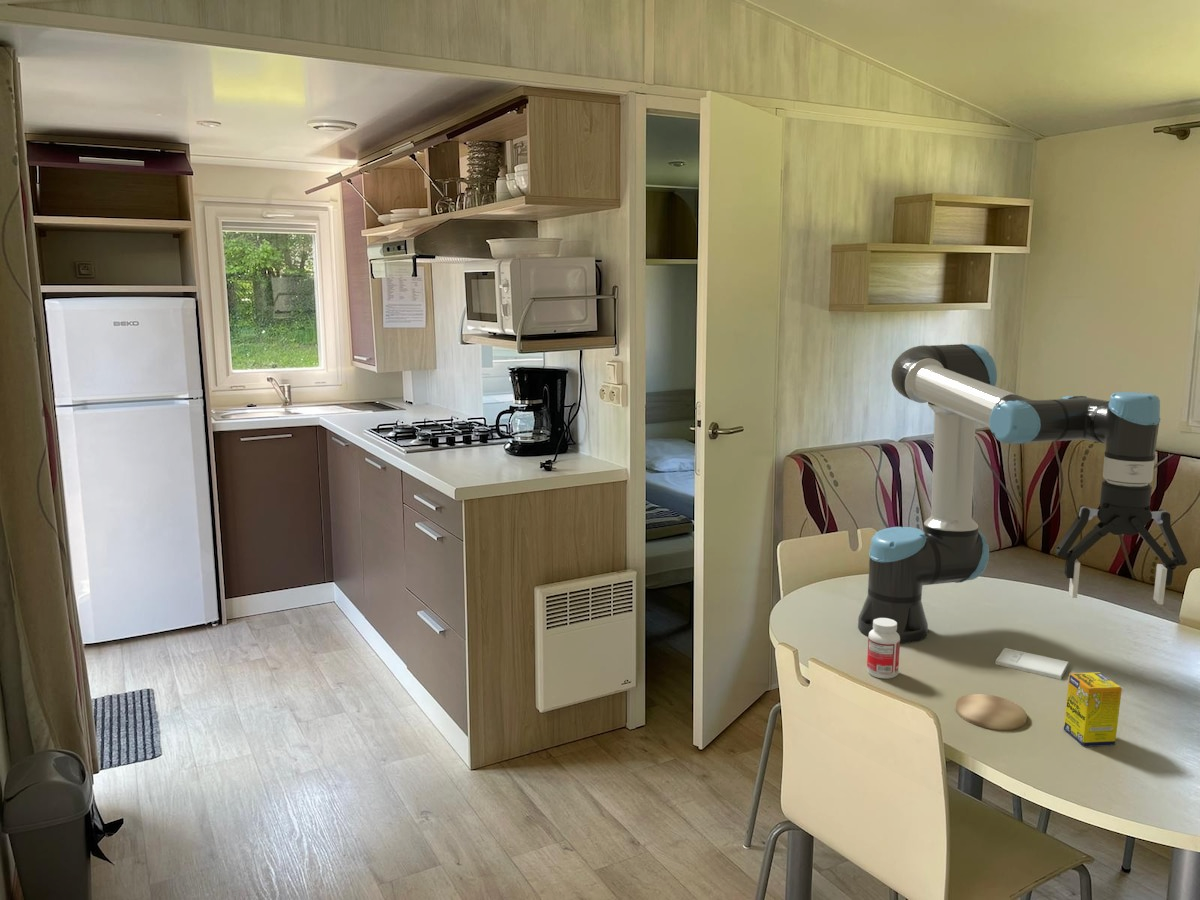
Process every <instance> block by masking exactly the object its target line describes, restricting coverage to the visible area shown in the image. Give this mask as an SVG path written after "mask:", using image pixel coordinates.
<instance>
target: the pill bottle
mask: <svg viewBox="0 0 1200 900" xmlns="http://www.w3.org/2000/svg"><path fill="white" fill-rule="evenodd" d="M896 631H897V622H896V621H894V620H892V619H889V618H877V619H874V620H873V630H871V631H870V632H869V636H867V637H868V638H867V639H868V640H867V657H866V658H867V659H866V660H867V661H866V670H867V671H866V672H868V674H869V675H870V676H872V677H875V678H878V679H882V680H883V679H884V680H885V679H893V678H895V677H897V676H898V674H899V667H900V646H901V643H900V636H899V634H898V633H897V632H896Z"/></svg>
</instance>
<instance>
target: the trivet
mask: <svg viewBox="0 0 1200 900" xmlns="http://www.w3.org/2000/svg"><path fill="white" fill-rule="evenodd" d="M955 711H956V713H957V714H958V716H959V717H960V718H962V719H963V720H964V721H966V722H968V723H969V724H970V723H971V725H972V724H973V725H974V726H978V727H981V728H985V729H990V730H998V731H1011V730H1012V731H1013V730H1017V729H1020V728H1022V727H1024V726H1025V725H1026V724H1027V716H1028V715H1027V711H1026V710H1025V709H1024V708H1023V707H1022V706H1021V705H1019V704H1018V703H1015V702H1014V701H1012V700H1010V699H1007V698H1004V697H1000V696H995V695H992V694H983V693H973V694H967V695H966V694H965V695H963V696H960V697H959V698H957V700H956V702H955Z"/></svg>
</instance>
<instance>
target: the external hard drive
mask: <svg viewBox="0 0 1200 900" xmlns="http://www.w3.org/2000/svg"><path fill="white" fill-rule="evenodd" d="M994 663H995V664H994V665H997V666H1002V667H1005V668H1010V669H1014V670H1018V671H1023V672H1027V673H1030V674H1035V675H1039V676H1042V677H1048V678H1052V679H1055V680H1062V678H1063V676H1064V675H1065V674H1066V672H1067V670H1068V668H1069V665H1070V663H1069V661H1066V660H1062V659H1058V658H1053V657H1049V656H1045V655H1039V654H1034V653H1029V652H1024V651H1021V650H1015V649H1012V648H1007V647H1004V648H1003V650H1002V651H1001V652H1000V653H999V655H998V657H997V658H995V662H994Z"/></svg>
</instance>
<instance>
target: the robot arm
mask: <svg viewBox="0 0 1200 900" xmlns="http://www.w3.org/2000/svg"><path fill="white" fill-rule="evenodd" d="M997 379H998V371H997V365H996V362H995V359H994V358H993V357H992V355H991V354H990V352H989V351H988V350H987V349H986V348H984V347H982V346H980V345H977V344H965V343H960V344H959V343H958V344H956V343H955V344H942V345H941V344H940V345H939V344H937V345H932V344H931V345H925V344H923V345H917V346H913V347H910V348H908V349H906V350H904V351H903V352H902V353H900V355H899V356H898V357H897V358H896V359H895V361H894V362H893V365H892V369H891V381H892V384H893V387H894V389H895V390H896V391H897V392H898V393H899V394H900V395H901V396H903V397H904V398H906V399H908V400H910V401H913V402H916V403H919V404H925V403H927V406H928V407H929V408H930V409H931V410H932V411H933V413H934V423H933V424H934V427H933V449H932V450H933V456H932V480H931V481H932V482H931V483H932V487H931V510H930V511H931V514H930V517H928V518H927V519H926V520H925V521H924V522H923V530H922V529H919V528H917V527H913V526H904V527H903V526H892V527H887V528H883V529H880V530H878V531H877V532H876V533H874V534H873V536H872V538H871V540H870V546H869V550H868V556H869V562H868V563H869V564H868V582H867V583H868V584H867V596H866V599H865V601H864V603H863V605H862V608H861V610H860V613H859V615H858V619H857V622H858V623H857V628H858V630H859V631H860V632H861V633H862V634H863V635H865V636H867V637H868V636H869V632H870V631H871V630H873V620H874V619H877V618H889V619H892V620H894V621H896V622H897V631H896V632H897V633H898V634H899V636H900V644H908V643H909V644H910V643H917V642H920V641H922V640H924V639H925V638H927V637H928V629H929V627H928V621H927V617H926V614H925V611H924V607H923V601H922V594H923V586H931V585H940V584H941V585H942V584H951V583H955V584H957V583H958V584H959V583H963V582H968V581H973V580H975V579H977V578H978V577H980V576H981V575H982V574H983V573H984V572H985V570H986V568H987V566H988V563H989V558H990V548H989V544H988V543H987V538H986V537H985V535H984V534H983V533H982V532H981V531H980V530H979V525H978V523H977V522H976V521H975V520H974V519H973V518H972V512H973V490H974V489H973V487H974V470H975V469H974V467H975V466H974V464H975V441H976V423H977V424H980V425H981V426H983V427H986V428H989V429H990V432H991V434H992V435H993V436H994V437H995V439H996V440H997V441H998V442H1001V443H1002V444H1015V445H1023V444H1032V443H1047V442H1061V441H1078V440H1079V441H1081V440H1082V441H1083V440H1084V441H1085V440H1086V441H1090V442H1091V441H1092V442H1097V443H1101V444H1105V447H1104V448H1105V450H1104V458H1103V467H1102V468H1103V469H1102V478H1103V479H1104V480H1103V481H1102V482H1101V487H1100V488H1101V490H1100V497H1099V499H1100V500H1099V505H1098V507H1097V508H1093V507H1087V506H1086V505H1083V504H1082V505H1080V506H1079V508H1078V511H1077V515H1076V518H1075V519H1074V520H1073V522H1072V524H1071V526H1070V527H1069V528H1068V530H1067V531H1066V533H1065V534H1064V536H1063V537H1062V539H1061V540H1060V541H1059V543H1058V544H1057V546H1056V547H1055V549H1054V552H1055V554H1056V555H1057V557H1059V558H1060V559H1061V558H1062V559H1064V560H1065V563H1064V564H1065V565H1064V575H1065V577H1066V579H1069V586H1068V594H1069V595H1070V597H1071V598H1072V599H1077V598H1078V591H1079V581H1080V571H1081V562H1080V561H1079V560H1078V559H1079V558H1080V557H1081V556H1082V555H1083V554H1085V553H1086V552H1087V551H1088V550H1089V549H1090V548H1092V547H1093V545H1095V544H1096V543H1097V542H1098V541H1099V540H1101V539H1102V538H1103V537H1106V536H1107V535H1108V534H1109V533H1110V534H1113V535H1117V536H1118V535H1119V536H1121V535H1125V536H1129V537H1130V536H1133V537H1134V535H1137V534H1138V535H1139V536H1140V537H1141V539H1143V540H1144V542H1145V543H1146V544H1147V546H1148V547H1149V548H1150V549H1151V551H1153V553H1154V554H1155V555H1156V557H1158V559H1159V560H1160V561H1161V563H1162V564H1161V563H1157V564H1156V570H1155V578H1154V579H1155V581H1154V589H1153V599H1152V600H1154V602H1156V603H1157V605H1162V606H1163V605H1164V601H1165V592H1166V591H1165V590H1166V586H1171V585H1172V583H1173V577H1174V575H1173V574H1174V570H1176V568H1177V566H1179V567H1180V566H1186V565H1187V564H1188V560H1187V558H1186V556H1185V554H1184V552H1183V549H1182V547H1181V545H1180V542H1179V541H1178V538H1177V536H1176V534H1175V532H1174V530H1173V527H1172V526H1171V514H1170V513H1169V512H1168V511H1166V510H1165V509H1163V508H1161V509H1159V510H1158V511H1156V510H1155V511H1151V509H1150V508H1151V497H1152V489H1153V487H1152V485H1151V484H1150V483H1152V482H1153V481H1154V480H1153V478H1154V469H1155V459H1156V448H1157V441H1158V440H1157V439H1158V432H1159V425H1160V423H1161V418H1160V417H1161V400H1160V397H1159V396H1157V395H1156V394H1153V393H1149V392H1139V391H1117V392H1114V393H1112V394H1111V395H1110V397H1109V400H1103V399H1097V398H1091V397H1088V396H1085V395H1066V396H1065V395H1064V396H1063V397H1061V398H1059V399H1058V398H1057V399H1030V398H1027V397H1024V396H1021V395H1018V394H1016V393H1014V392H1011V391H1008V390H1005V389H1002V388H1000V387H997V386H996V384H997ZM1093 517H1097V518H1098V520H1099V522H1097V523H1096V524H1095V525H1094V527H1093V528H1092V530H1090V531H1089V532H1087V534H1085V535H1084V536H1083V537H1082V538H1081V539H1080V540H1079V541H1078V542H1076V541H1077V539H1078V538H1079V536H1080V535H1081V533H1082V531H1083V530H1084V529H1085V527H1086V526H1087V525H1088V524H1087V523H1088V521H1091V520H1093ZM1152 519H1153V520H1154V523H1156V524H1157V525H1158V526H1159V529H1160V531H1161V533H1162V535H1163V537H1164V540H1165V542H1166V544H1167V546H1168V548H1169V550H1170V553H1171V554H1172V556H1171V557H1170V556H1169V555H1168V554H1167V552H1165V550H1164V549H1163V548H1162V546H1160V544H1159V543H1158V542H1157V540H1155V538H1154V537H1153V536H1152V534H1151V533H1150V532H1149V530H1148V529H1147V528H1146V527H1145V526H1146V525H1147V524H1148V523H1150V521H1151V520H1152ZM1075 542H1076V544H1074V543H1075Z"/></svg>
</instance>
